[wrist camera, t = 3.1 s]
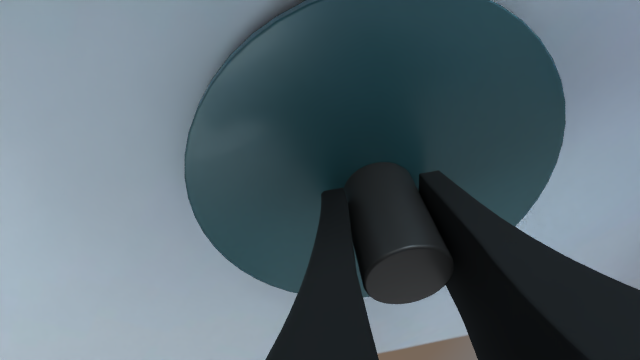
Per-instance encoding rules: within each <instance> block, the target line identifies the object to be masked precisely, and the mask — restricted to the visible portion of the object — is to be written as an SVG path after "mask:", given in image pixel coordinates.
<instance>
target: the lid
mask: <svg viewBox="0 0 640 360" xmlns="http://www.w3.org/2000/svg"><path fill="white" fill-rule="evenodd" d="M564 129H565V98H564V93H563V88H562V82H561V79H560V76H559V74H558V71H557V69H556V66H555V64H554V61H553V59H552V57H551V55H550V54H549V52H548V51H547V49H546V48H545V46H544V45H543V43H542V41H541V40H540V38H539V37H538V36H537V35H536V34H535V33H534V32H533V31H532V30H531V29H530V28H529V27H528V26H527V25H526V24H525V23H524V22H523V21H522V20H521V19H519V18H518V17H517V16H515V15H514V14H512V13H511V12H509V11H508V10H506V9H505V8H504V7H502V6H501V5H499V4H497V3H495V2H492V1H490V0H306V1H304V2H302V3H300V4H299V5H297V6H295V7H293V8H291V9H289V10H287V11H285V12H284V13H282V14H280V15H278V16H276V17H275V18H274V19H272V20H271V21H270V22H268V23H267V24H265V25H264V26H263V27H261V28H260V29H259V30H257V31H256V32H255V33H253V34H252V35H251V36H250V37H249V38H248V39H247V40H246V41H245V42H244V43H242V44H241V45H240V46H239V47H238V48H237V49H236V50H235V51H234V52H233V53H232V54H231V55H230V56H229V57H228V59H227V60H226V61H225V63H224V64H223V65H222V67H221V68H220V69H219V71H218V72H217V73H216V75H215V76H214V77H213V79H212V80H211V82H210V84H209V86H208V88H207V89H206V91H205V93H204V95H203V97H202V99H201V100H200V102H199V105H198V108H197V110H196V113H195V116H194V119H193V122H192V125H191V127H190V130H189V134H188V139H187V145H186V151H185V182H186V188H187V194H188V198H189V201H190V204H191V207H192V210H193V213H194V215H195V218H196V219H197V221H198V223H199V225H200V227H201V229H202V230H203V232H204V234H205V235H206V236H207V238H208V239H209V240H210V242H211V243H212V244H213V246H214V247H215V248H216V249H217V250H218V251H219V252H220V253H221V254H222V255H223V256H224V257H225V258H226V259H227V260H229V261H230V262H231V263H233V264H234V265H235V266H237V267H238V268H239V269H240V270H242V271H244V272H245V273H247V274H249V275H251V276H252V277H254V278H256V279H258V280H260V281H262V282H264V283H267V284H269V285H271V286H274V287H277V288H280V289H283V290H286V291H289V292H294V293H298V292H299V289H300V287H301V284H302V281H303V279H304V276H305V273H306V270H307V267H308V264H309V260H310V257H311V254H312V250H313V247H314V243H315V239H316V234H317V229H318V225H319V219H320V212H321V194H322V193H323V191H326V190H332V189H337V188H343V189H344V192H345V195H346V199H347V202H348V209H349V217H350V224H351V232H352V240H353V247H354V254H355V262H356V271H357V276H358V280H359V284H360V288H361V292H362V296H363V297H372V298H373V299H375V300H377V301H380V302H383V303H388V304H405V303H411V302H415V301H418V300H421V299H424V298H426V297H429V296H431V295H432V294H434V293H436V292H437V291H439V290H440V289H441V288H442V287H444V286H445V285H446V283H447V282H448V281H449V280H450V278H451V276H452V274H453V270H454V262H453V259H452V256H451V254H450V252H449V250H448V248H447V246H446V244H445V242H444V241H443V239H442V237H441V235H440V233H439V231H438V229H437V227H436V225H435V223H434V221H433V219H432V217H431V215H430V213H429V211H428V209H427V207H426V205H425V203H424V201H423V199H422V197H421V195H420V193H419V174H420V173H426V172H432V171H437V170H439V171H440V172H441V173H443V174H444V175H445V176H447V177H448V178H449V179H450V180H452V181H453V182H454V183H455V184H457V185H458V186H459V187H461V188H462V189H463V190H464V191H466V192H467V193H468V194H470V195H471V196H472V197H473V198H475V199H476V200H477V201H479V202H480V203H481V204H483V205H484V206H486V207H487V208H488V209H490V210H491V211H492V212H494V213H495V214H497V215H498V216H499V217H501V218H502V219H504V220H505V221H507V222H508V223H510V224H511V225H513V226H516V225H517V224H518V223H519V222H520V220H521V219H522V218H523V217H524V216H525V215H526V214H527V212H528V211H529V210H530V208H531V207H532V206H533V205H534V203H535V202H536V201H537V199H538V198H539V196H540V194H541V193H542V191H543V189H544V188H545V186H546V184H547V183H548V181H549V179H550V176H551V174H552V172H553V170H554V168H555V165H556V163H557V160H558V156H559V153H560V150H561V147H562V143H563V136H564Z"/></svg>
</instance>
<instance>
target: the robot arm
mask: <svg viewBox="0 0 640 360" xmlns="http://www.w3.org/2000/svg"><path fill="white" fill-rule="evenodd" d="M419 193H420V195H421V197H422V199H423V201H424V203H425V205H426V207H427V209H428V211H429V213H430V215H431V217H432V219H433V221H434V223H435V225H436V227H437V229H438V231H439V233H440V235H441V237H442V239H443V241H444V242H445V244H446V246H447V248H448V250H449V252H450V254H451V256H452V259H453V262H454V270H453V274H452V276H451V278H450V280H449V281H448V282H447V283H446V286H447V288H448V290H449V292H450V294H451V296H452V298H453V300H454V302H455V304H456V306H457V308H458V311H459V313H460V315H461V317H462V320H463V322H464V324H465V327H466V329H467V332H468V335H469V337H470V340H471V342H472V345H473V347H474V350H475V353H476V356H477V358H478V360H640V290H638V289H636V288H633V287H631V286H628V285H626V284H624V283H621V282H619V281H617V280H615V279H612V278H610V277H608V276H606V275H603V274H601V273H599V272H597V271H595V270H593V269H591V268H589V267H587V266H585V265H582V264H580V263H578V262H576V261H574V260H572V259H570V258H568V257H566V256H564V255H563V254H561V253H559V252H557V251H555V250H553V249H552V248H550V247H548V246H546V245H544V244H543V243H541V242H539V241H537V240H536V239H534V238H532V237H530V236H529V235H527V234H526V233H524V232H522V231H521V230H519V229H518V228H516V227H515V226H513V225H511V224H510V223H508V222H507V221H505V220H504V219H502V218H501V217H499V216H498V215H497V214H495V213H494V212H492V211H491V210H490V209H488V208H487V207H486V206H484V205H483V204H481V203H480V202H479V201H477V200H476V199H475V198H473V197H472V196H471V195H470V194H468V193H467V192H466V191H464V190H463V189H462V188H461V187H459V186H458V185H457V184H455V183H454V182H453V181H452V180H450V179H449V178H448V177H447V176H445V175H444V174H443V173H441V172H440V171H439V170H437V171H432V172H426V173H420V174H419ZM266 360H379V359H378V355H377V351H376V347H375V343H374V340H373V336H372V332H371V328H370V324H369V320H368V316H367V312H366V308H365V304H364V300H363V296H362V292H361V288H360V284H359V280H358V276H357V271H356V262H355V254H354V247H353V240H352V232H351V224H350V217H349V209H348V202H347V199H346V195H345V192H344V189H343V188H337V189H332V190H326V191H323V193H322V194H321V212H320V219H319V225H318V229H317V234H316V239H315V243H314V247H313V250H312V254H311V257H310V260H309V264H308V267H307V270H306V273H305V276H304V279H303V281H302V284H301V287H300V289H299V292H298V294H297V297H296V299H295V302H294V304H293V306H292V308H291V311H290V313H289V315H288V317H287V319H286V322H285V324H284V326H283V328H282V330H281V332H280V334H279V336H278V337H277V339H276V341H275V343H274V345H273V347H272V349H271V350H270V352H269V354H268V356H267V358H266Z"/></svg>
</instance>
